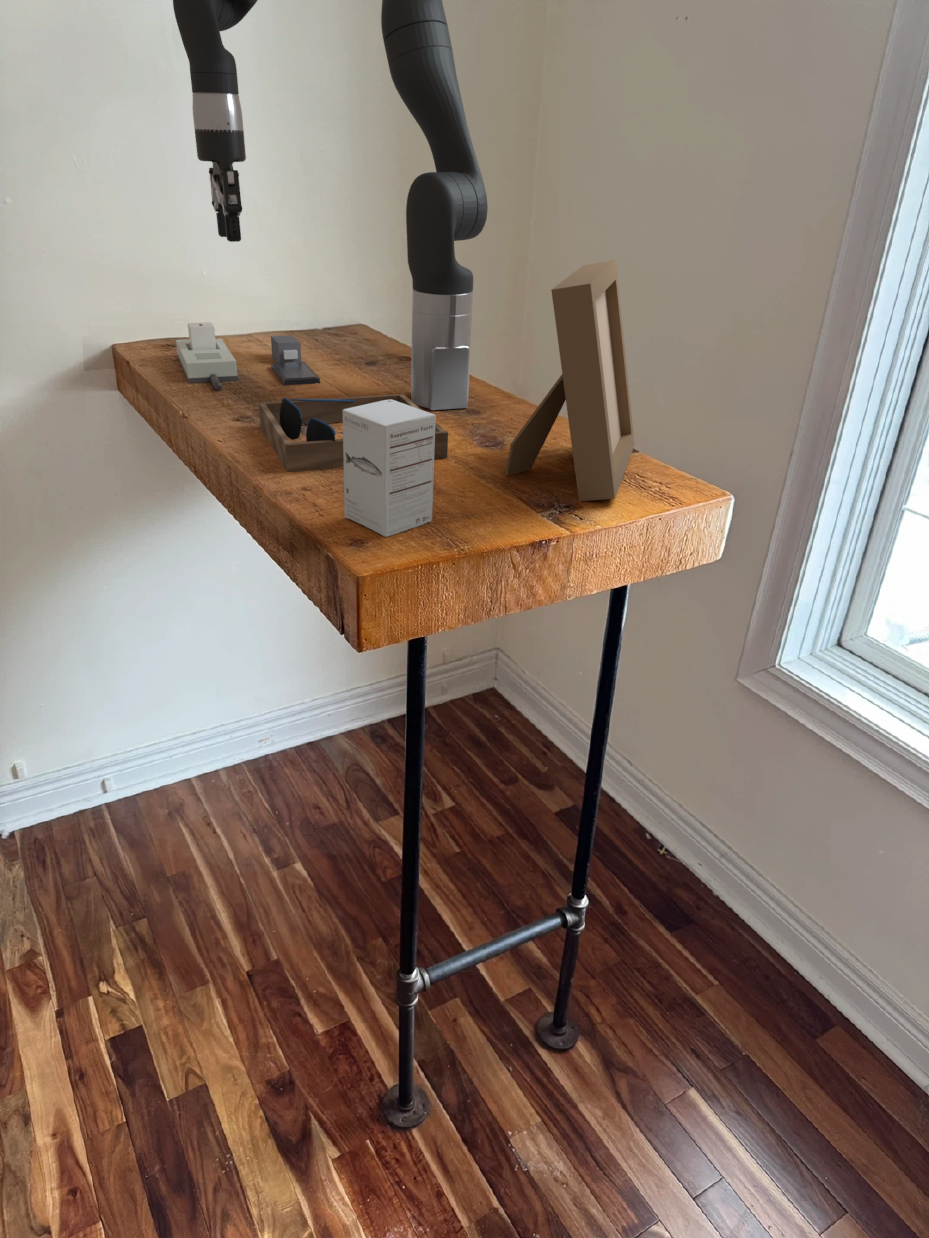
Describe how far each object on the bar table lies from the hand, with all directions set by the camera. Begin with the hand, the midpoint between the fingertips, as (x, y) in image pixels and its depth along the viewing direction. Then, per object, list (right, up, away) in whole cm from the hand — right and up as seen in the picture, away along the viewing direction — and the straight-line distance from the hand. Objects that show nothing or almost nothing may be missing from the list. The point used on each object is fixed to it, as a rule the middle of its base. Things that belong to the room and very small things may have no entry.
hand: (229, 239), depth 147 cm
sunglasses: (+23, -38, -23) cm, 50 cm away
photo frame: (+53, -44, -29) cm, 75 cm away
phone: (+10, -21, +7) cm, 24 cm away
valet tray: (+23, -38, -23) cm, 51 cm away
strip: (-5, -21, +6) cm, 22 cm away
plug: (+6, -16, +16) cm, 23 cm away
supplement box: (+30, -52, -47) cm, 76 cm away
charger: (-7, -17, +10) cm, 21 cm away
